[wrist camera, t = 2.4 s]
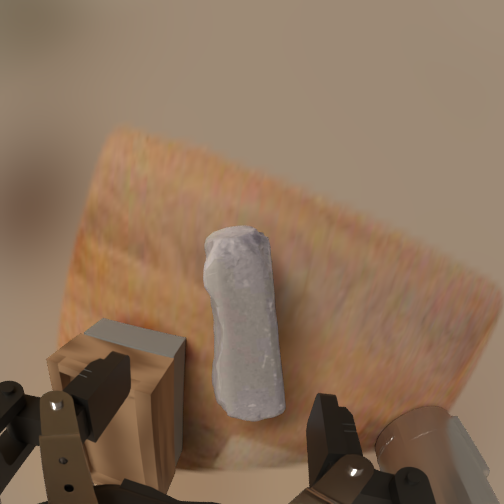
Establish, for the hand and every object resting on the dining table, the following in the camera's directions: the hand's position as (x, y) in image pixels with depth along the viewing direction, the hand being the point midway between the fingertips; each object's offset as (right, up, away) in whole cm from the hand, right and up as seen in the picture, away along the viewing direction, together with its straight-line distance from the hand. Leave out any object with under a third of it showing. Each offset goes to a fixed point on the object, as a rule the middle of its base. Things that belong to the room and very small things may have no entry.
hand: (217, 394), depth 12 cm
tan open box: (-10, -9, +14) cm, 19 cm away
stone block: (+2, +3, +14) cm, 14 cm away
